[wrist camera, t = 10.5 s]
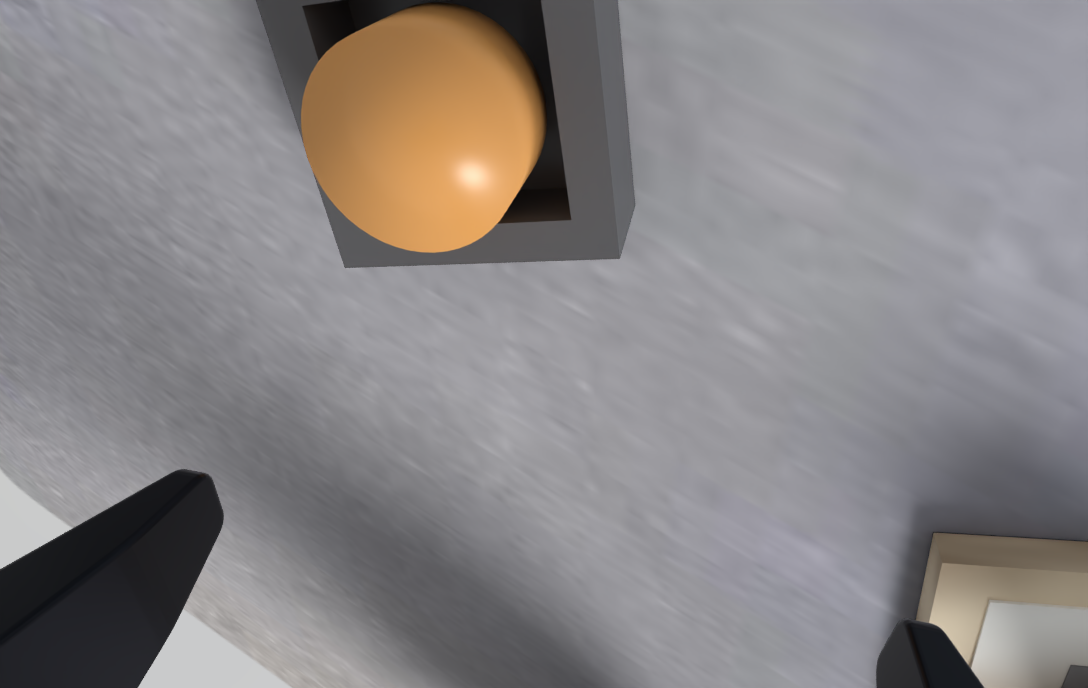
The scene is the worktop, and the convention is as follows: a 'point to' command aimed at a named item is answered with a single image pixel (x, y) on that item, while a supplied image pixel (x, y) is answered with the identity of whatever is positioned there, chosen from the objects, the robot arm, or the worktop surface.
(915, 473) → the worktop surface
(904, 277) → the worktop surface
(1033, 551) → the picture frame
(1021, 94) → the worktop surface
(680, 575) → the worktop surface
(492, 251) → the button housing
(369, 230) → the button
